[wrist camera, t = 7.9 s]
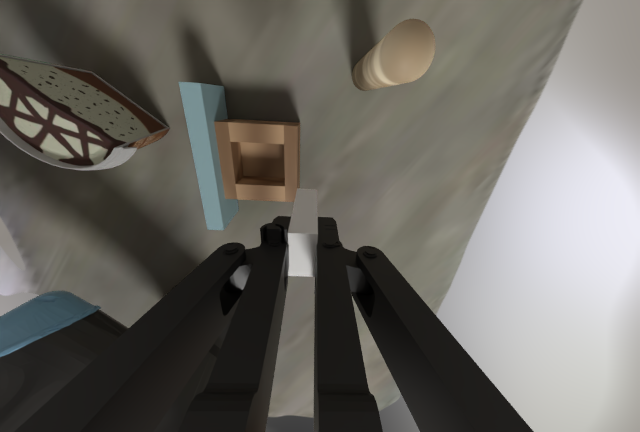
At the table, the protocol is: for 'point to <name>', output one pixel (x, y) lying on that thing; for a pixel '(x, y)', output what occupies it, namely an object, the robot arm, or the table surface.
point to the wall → (208, 149)
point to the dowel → (396, 57)
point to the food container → (70, 116)
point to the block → (259, 159)
